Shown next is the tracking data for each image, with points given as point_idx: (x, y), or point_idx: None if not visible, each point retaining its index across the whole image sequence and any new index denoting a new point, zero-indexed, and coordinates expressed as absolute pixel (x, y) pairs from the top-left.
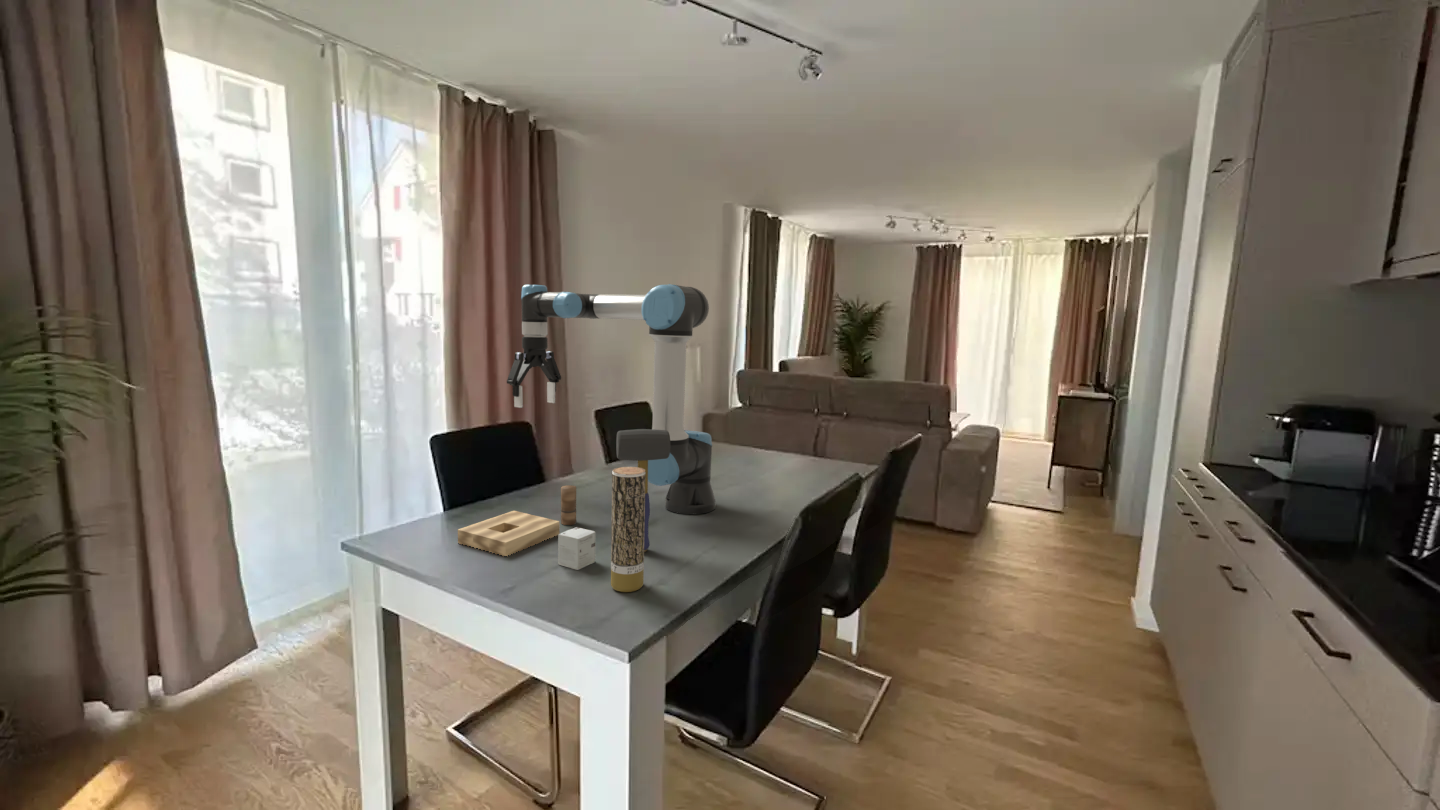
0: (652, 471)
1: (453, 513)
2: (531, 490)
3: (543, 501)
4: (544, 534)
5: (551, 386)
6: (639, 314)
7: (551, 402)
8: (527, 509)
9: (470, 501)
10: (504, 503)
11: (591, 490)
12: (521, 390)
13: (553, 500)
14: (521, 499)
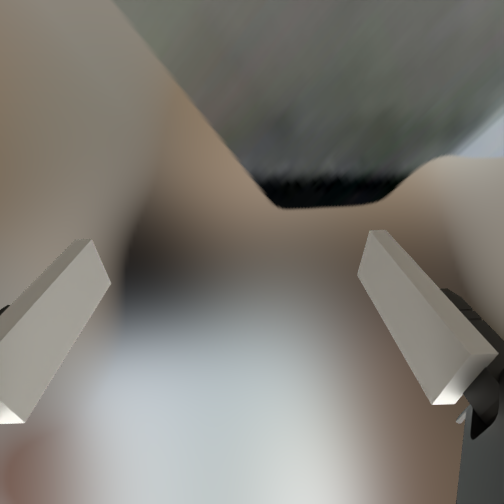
0: None
1: (438, 150)
2: (238, 154)
3: (288, 50)
4: None
5: (21, 351)
6: None
7: (97, 255)
8: (361, 27)
9: (361, 188)
10: (344, 121)
11: (128, 11)
12: (450, 315)
13: (267, 32)
14: (302, 114)
